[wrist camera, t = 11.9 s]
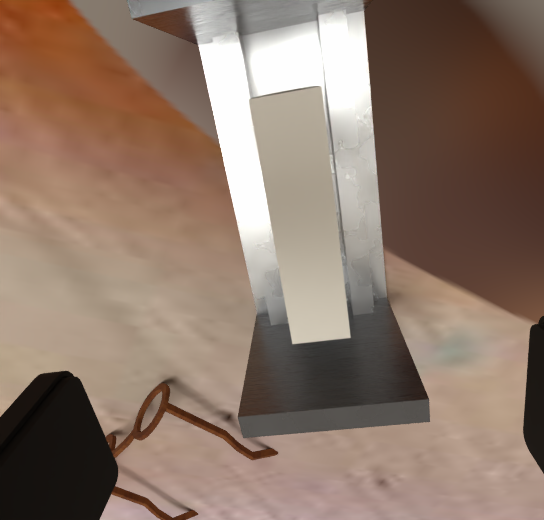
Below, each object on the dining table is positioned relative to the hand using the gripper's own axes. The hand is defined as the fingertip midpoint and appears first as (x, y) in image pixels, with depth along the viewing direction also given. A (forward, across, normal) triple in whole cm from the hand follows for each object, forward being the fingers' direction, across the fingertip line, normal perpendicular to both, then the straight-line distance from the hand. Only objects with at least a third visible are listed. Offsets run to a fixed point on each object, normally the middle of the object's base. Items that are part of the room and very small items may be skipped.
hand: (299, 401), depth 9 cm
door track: (+22, 0, 0) cm, 22 cm away
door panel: (+21, 0, 0) cm, 21 cm away
